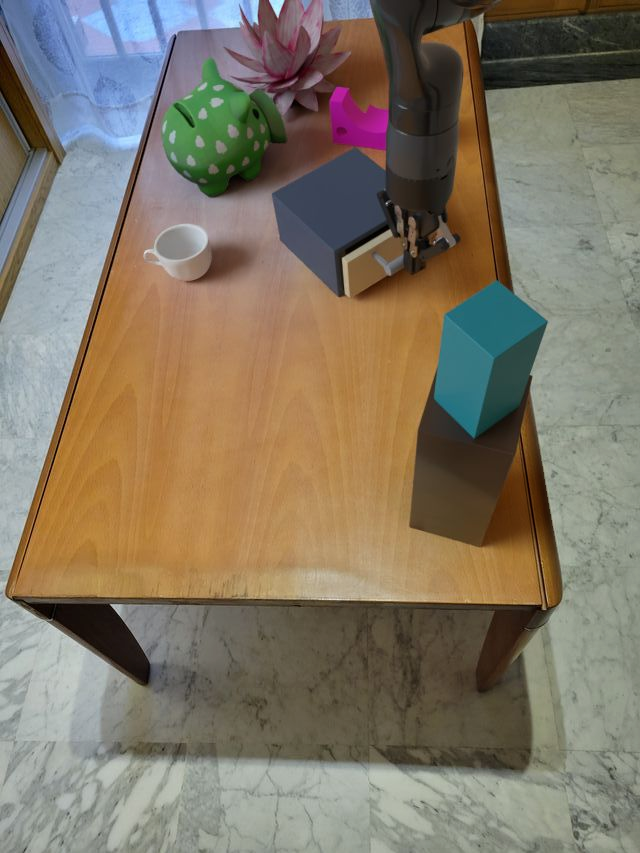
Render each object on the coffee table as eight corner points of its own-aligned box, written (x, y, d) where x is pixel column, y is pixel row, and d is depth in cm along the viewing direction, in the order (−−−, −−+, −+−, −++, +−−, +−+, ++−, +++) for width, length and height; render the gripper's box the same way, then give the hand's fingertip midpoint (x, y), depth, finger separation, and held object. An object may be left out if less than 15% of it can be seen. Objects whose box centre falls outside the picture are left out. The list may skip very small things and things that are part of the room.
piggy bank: (297, 172, 103) (285, 84, 91) (198, 219, 100) (171, 133, 87) (257, 129, 110) (240, 41, 97) (163, 171, 107) (132, 85, 94)
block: (519, 406, 53) (548, 321, 43) (474, 439, 52) (494, 359, 42) (477, 368, 55) (496, 279, 45) (433, 398, 54) (443, 314, 44)
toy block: (429, 131, 106) (432, 87, 99) (420, 155, 103) (422, 112, 96) (344, 119, 109) (341, 77, 103) (332, 142, 106) (329, 100, 100)
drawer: (445, 268, 89) (449, 231, 83) (368, 317, 86) (367, 281, 80) (366, 203, 97) (365, 164, 91) (294, 245, 94) (288, 208, 88)
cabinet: (419, 247, 93) (422, 198, 85) (338, 297, 89) (334, 251, 82) (357, 195, 99) (355, 146, 92) (280, 240, 96) (271, 193, 88)
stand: (494, 484, 73) (533, 375, 54) (480, 547, 69) (515, 454, 50) (426, 466, 75) (440, 355, 56) (408, 527, 71) (417, 430, 52)
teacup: (218, 248, 96) (209, 220, 92) (215, 286, 92) (206, 259, 88) (153, 254, 97) (142, 227, 92) (148, 292, 93) (136, 265, 88)
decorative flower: (365, 116, 109) (362, 25, 96) (244, 144, 108) (225, 56, 95) (335, 50, 120) (329, -40, 107) (225, 75, 119) (205, -13, 106)
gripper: (355, 139, 69) (360, 255, 84) (435, 202, 63) (425, 314, 78) (408, 110, 71) (403, 229, 86) (491, 168, 65) (471, 285, 80)
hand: (414, 269), depth 82 cm, fingers closed
